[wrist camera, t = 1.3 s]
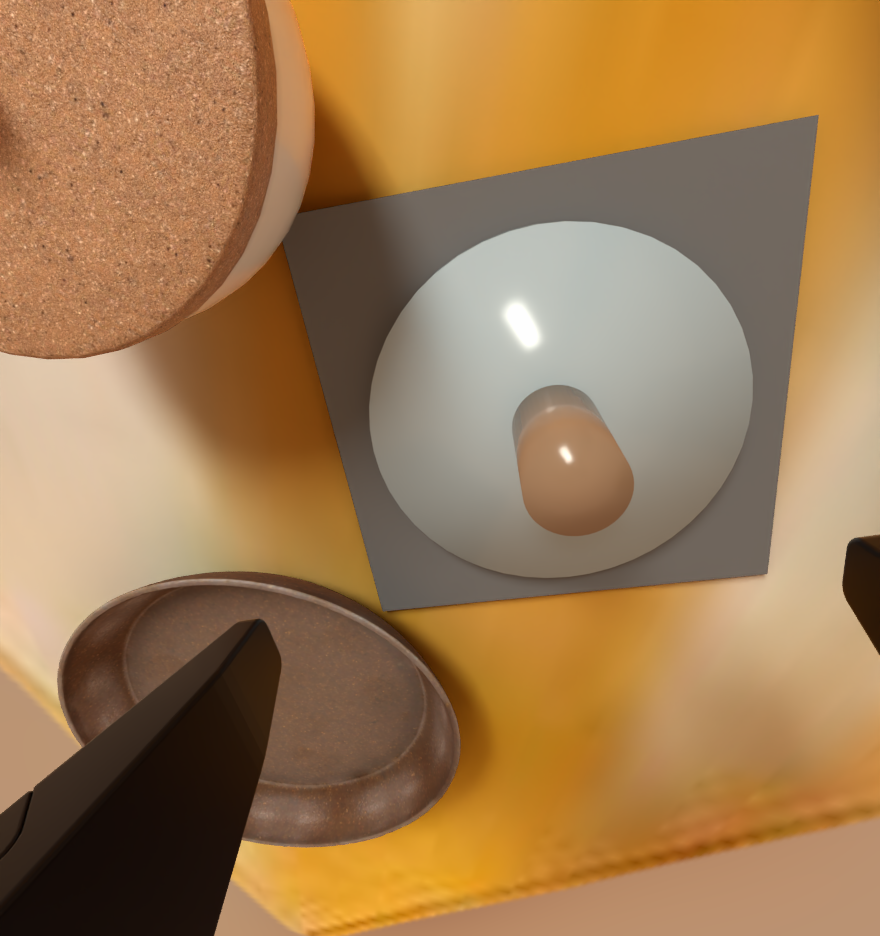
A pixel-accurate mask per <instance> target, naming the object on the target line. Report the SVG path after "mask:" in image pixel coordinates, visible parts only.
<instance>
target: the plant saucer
mask: <svg viewBox="0 0 880 936" xmlns="http://www.w3.org/2000/svg"><path fill="white" fill-rule="evenodd" d="M258 618H259V619H262V620H264V621H265V622H266V623H267V625H268V627H269V630H270V632H271V634H272V636H273V639H274V641H275V643H276V646H277V648H278V650H279V652H280V655H281V661H282V669H281V675H280V680H279V686H278V691H277V697H276V703H275V708H274V714H273V719H272V725H271V730H270V736H269V741H268V746H267V751H266V756H265V760H264V764H263V767H262V771H261V775H260V778H259V782H258V785H257V789H256V792H255V796H254V799H253V802H252V806H251V809H250V813H249V816H248V820H247V823H246V827H245V830H244V834H243V837H242V840H245V841H250V842H255V843H261V844H269V845H275V846H285V847H286V846H290V847H325V846H336V845H345V844H349V843H357V842H361V841H366V840H370V839H373V838H377V837H380V836H383V835H385V834H387V833H390V832H393V831H395V830H397V829H400V828H402V827H404V826H406V825H408V824H410V823H411V822H413V821H415V820H417V819H418V818H419V817H421V816H422V815H424V814H425V813H426V812H428V811H429V810H430V809H431V808H432V807H433V806H434V805H435V804H436V803H437V802H438V800H439V799H440V798H442V796H443V795H444V793H445V792H446V791H447V789H448V787H449V786H450V784H451V782H452V780H453V778H454V776H455V773H456V770H457V766H458V763H459V757H460V745H461V743H460V732H459V727H458V722H457V718H456V715H455V712H454V710H453V707H452V705H451V703H450V701H449V699H448V697H447V695H446V693H445V691H444V689H443V687H442V686H441V684H440V682H439V681H438V679H437V678H436V676H435V675H434V673H433V672H432V670H431V669H430V667H429V666H428V665H427V663H426V662H425V661H424V659H423V658H422V657H421V655H420V654H419V653H418V652H417V651H416V650H415V649H414V647H413V646H412V645H411V644H410V643H409V642H408V641H407V640H406V639H405V638H404V637H403V636H402V635H401V634H400V633H399V632H397V631H396V630H395V629H394V628H393V627H392V626H390V625H389V624H388V623H387V622H385V621H384V620H383V619H381V618H380V617H379V616H377V615H376V614H374V613H373V612H371V611H370V610H369V609H367V608H365V607H364V606H362V605H360V604H359V603H357V602H355V601H353V600H351V599H349V598H347V597H345V596H343V595H341V594H339V593H337V592H334V591H332V590H330V589H327V588H325V587H322V586H319V585H316V584H313V583H311V582H307V581H304V580H300V579H297V578H292V577H287V576H282V575H275V574H268V573H258V572H213V573H203V574H196V575H189V576H183V577H177V578H173V579H169V580H164V581H161V582H157V583H154V584H150V585H147V586H145V587H142V588H139V589H136V590H133V591H131V592H128V593H126V594H123V595H121V596H119V597H117V598H115V599H113V600H111V601H109V602H107V603H106V604H104V605H103V606H101V607H100V608H98V609H97V610H96V611H94V612H93V613H92V614H91V615H89V616H88V617H87V618H86V619H85V620H84V621H83V622H82V623H81V624H80V625H79V626H78V627H77V629H76V630H75V631H74V633H73V634H72V636H71V637H70V639H69V641H68V642H67V644H66V646H65V648H64V651H63V653H62V656H61V659H60V662H59V669H58V678H57V682H58V695H59V700H60V704H61V708H62V710H63V713H64V716H65V718H66V720H67V723H68V725H69V727H70V729H71V731H72V733H73V735H74V736H75V738H76V739H77V741H78V742H79V743H80V745H81V746H82V748H83V747H84V746H85V745H86V744H88V743H89V742H90V741H91V740H92V739H94V738H95V737H96V736H97V735H99V734H100V733H101V732H102V731H104V730H105V729H106V728H107V727H108V726H110V725H111V724H112V723H113V722H115V721H116V720H117V719H118V718H120V717H121V716H122V715H123V714H124V713H126V712H127V711H128V710H129V709H131V708H132V707H133V706H134V705H136V704H137V703H138V702H139V701H140V700H142V699H143V698H144V697H145V696H147V695H148V694H149V693H150V692H152V691H153V690H154V689H155V688H156V687H158V686H159V685H160V684H161V683H163V682H164V681H165V680H166V679H168V678H169V677H170V676H171V675H172V674H174V673H175V672H176V671H177V670H179V669H180V668H181V667H182V666H184V665H185V664H186V663H187V662H188V661H190V660H191V659H192V658H193V657H195V656H196V655H197V654H198V653H200V652H201V651H202V650H203V649H204V648H206V647H207V646H208V645H209V644H211V643H212V642H213V641H214V640H216V639H217V638H218V637H219V636H220V635H222V634H223V633H224V632H225V631H227V630H228V629H229V628H230V627H232V626H233V625H234V624H235V623H237V622H239V621H243V620H250V619H258Z"/></svg>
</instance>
